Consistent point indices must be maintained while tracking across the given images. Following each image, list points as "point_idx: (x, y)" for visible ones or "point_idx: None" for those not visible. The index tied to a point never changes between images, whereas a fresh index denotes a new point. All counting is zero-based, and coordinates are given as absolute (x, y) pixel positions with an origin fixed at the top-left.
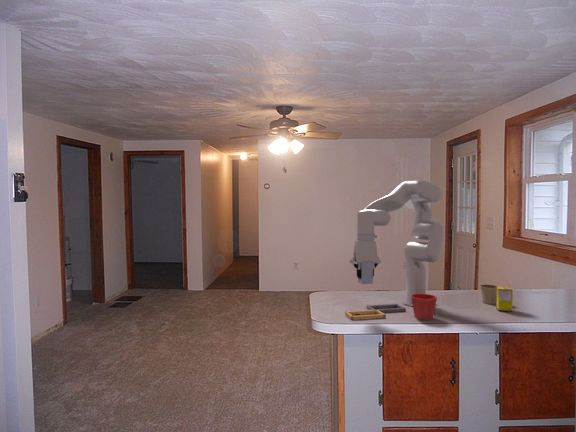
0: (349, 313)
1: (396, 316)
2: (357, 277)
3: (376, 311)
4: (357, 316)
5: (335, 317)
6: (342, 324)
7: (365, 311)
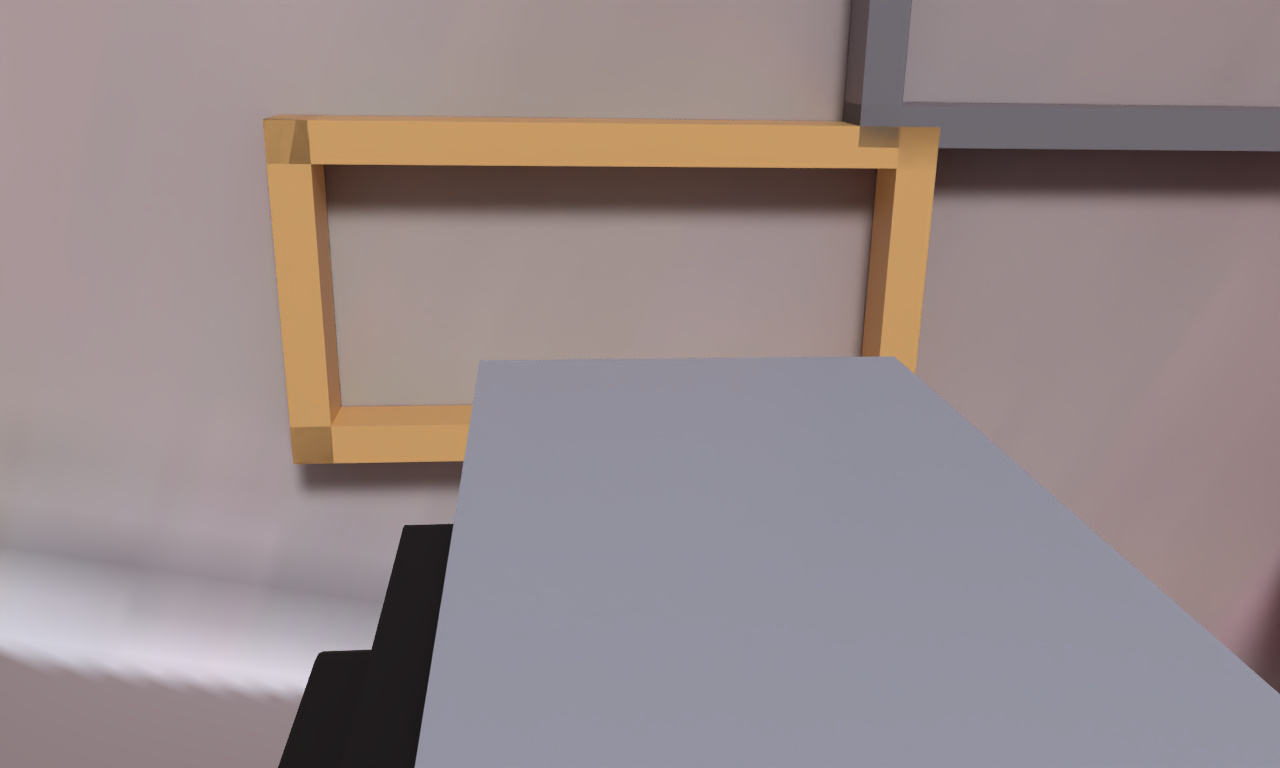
0: (314, 274)
1: (1098, 387)
2: (406, 532)
3: (889, 169)
4: (404, 460)
5: (58, 244)
6: (100, 617)
7: (677, 165)
